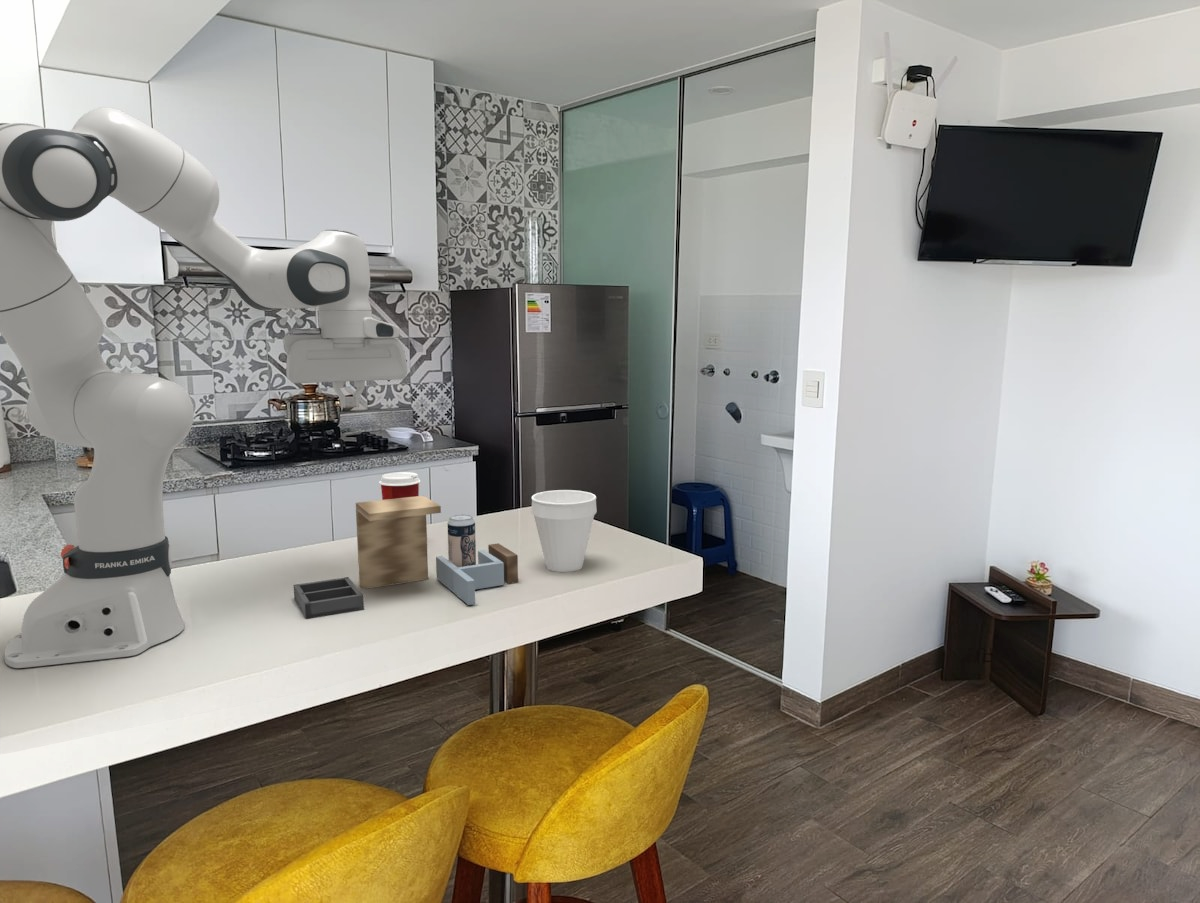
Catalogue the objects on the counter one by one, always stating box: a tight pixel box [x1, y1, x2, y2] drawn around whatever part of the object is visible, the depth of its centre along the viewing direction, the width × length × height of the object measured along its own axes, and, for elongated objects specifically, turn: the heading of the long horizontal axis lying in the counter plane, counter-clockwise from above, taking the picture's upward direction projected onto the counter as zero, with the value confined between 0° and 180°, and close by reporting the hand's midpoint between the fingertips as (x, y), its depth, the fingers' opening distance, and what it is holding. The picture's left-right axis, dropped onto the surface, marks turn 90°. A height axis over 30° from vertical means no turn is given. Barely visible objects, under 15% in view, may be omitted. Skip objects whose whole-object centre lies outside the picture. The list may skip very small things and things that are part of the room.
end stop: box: [487, 543, 519, 585], centre depth 153 cm, size 2×9×5 cm, turn 29°
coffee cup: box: [378, 471, 421, 500], centre depth 172 cm, size 8×8×15 cm
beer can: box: [447, 514, 477, 567], centre depth 148 cm, size 5×5×12 cm
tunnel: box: [355, 495, 442, 590], centre depth 144 cm, size 12×10×15 cm
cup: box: [530, 489, 598, 573], centre depth 158 cm, size 12×12×14 cm
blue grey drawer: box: [435, 549, 505, 606], centre depth 146 cm, size 9×16×4 cm, turn 29°
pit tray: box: [293, 576, 365, 620], centre depth 138 cm, size 9×11×2 cm
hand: (349, 407), depth 147 cm, fingers closed
